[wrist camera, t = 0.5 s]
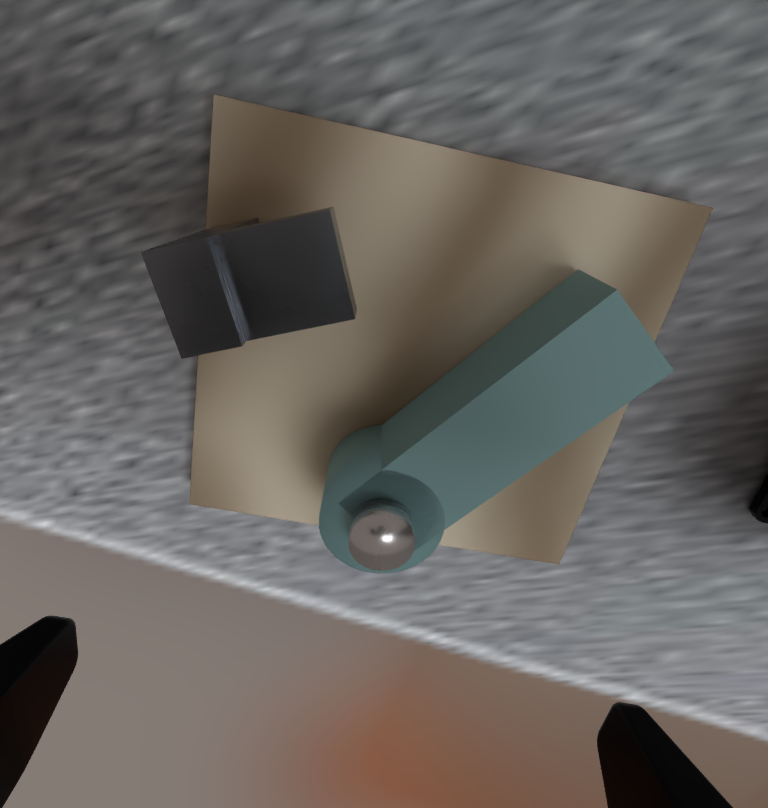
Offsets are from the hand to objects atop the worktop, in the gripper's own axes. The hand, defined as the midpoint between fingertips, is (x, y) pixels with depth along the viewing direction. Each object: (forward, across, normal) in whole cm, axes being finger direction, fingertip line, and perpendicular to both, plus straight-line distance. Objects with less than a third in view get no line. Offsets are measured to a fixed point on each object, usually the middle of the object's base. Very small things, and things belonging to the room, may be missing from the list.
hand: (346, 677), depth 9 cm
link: (+11, -3, 0) cm, 11 cm away
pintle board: (+12, -1, -1) cm, 12 cm away
